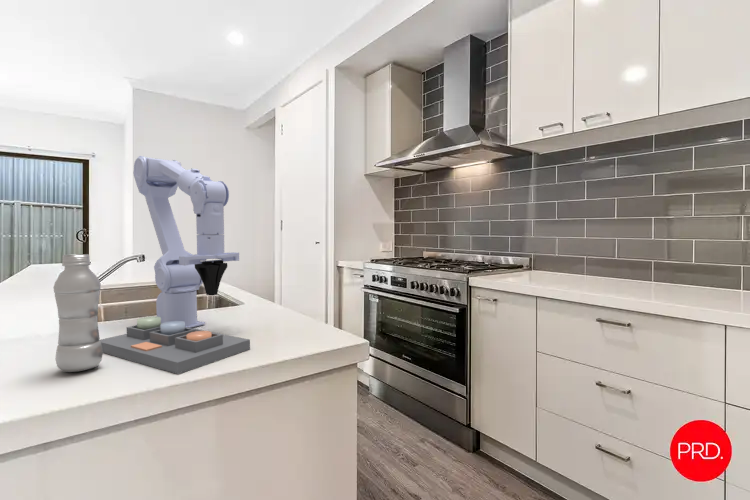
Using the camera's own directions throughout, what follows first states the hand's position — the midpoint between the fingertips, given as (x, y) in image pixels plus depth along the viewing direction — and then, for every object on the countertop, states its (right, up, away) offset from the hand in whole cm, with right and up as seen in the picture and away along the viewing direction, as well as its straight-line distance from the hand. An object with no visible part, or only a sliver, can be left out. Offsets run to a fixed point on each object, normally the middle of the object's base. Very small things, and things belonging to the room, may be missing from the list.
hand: (211, 294), depth 91 cm
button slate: (-4, -7, -10) cm, 13 cm away
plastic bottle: (-14, -11, -21) cm, 28 cm away
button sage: (-11, -6, -6) cm, 14 cm away
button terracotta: (+3, -8, -14) cm, 16 cm away
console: (-4, -10, -10) cm, 15 cm away
